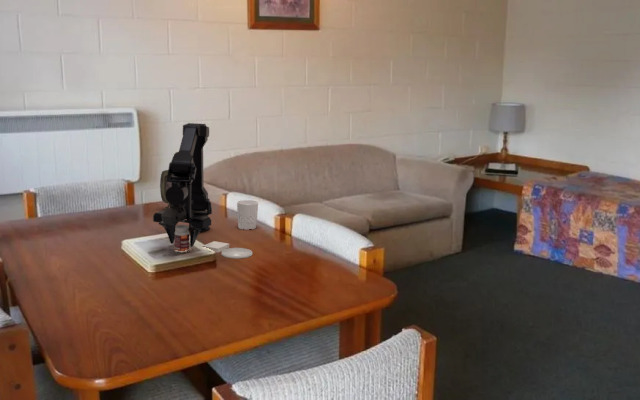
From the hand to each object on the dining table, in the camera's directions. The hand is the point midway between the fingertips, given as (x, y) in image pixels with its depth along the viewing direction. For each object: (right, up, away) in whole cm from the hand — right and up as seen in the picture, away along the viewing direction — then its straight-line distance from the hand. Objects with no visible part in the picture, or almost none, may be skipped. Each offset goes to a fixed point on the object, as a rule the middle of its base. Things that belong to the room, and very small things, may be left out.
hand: (182, 244), depth 197 cm
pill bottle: (0, -2, 0) cm, 2 cm away
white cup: (+17, +4, +34) cm, 38 cm away
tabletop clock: (-13, +10, +55) cm, 58 cm away
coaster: (+18, -3, 0) cm, 18 cm away
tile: (+12, -1, +8) cm, 14 cm away
